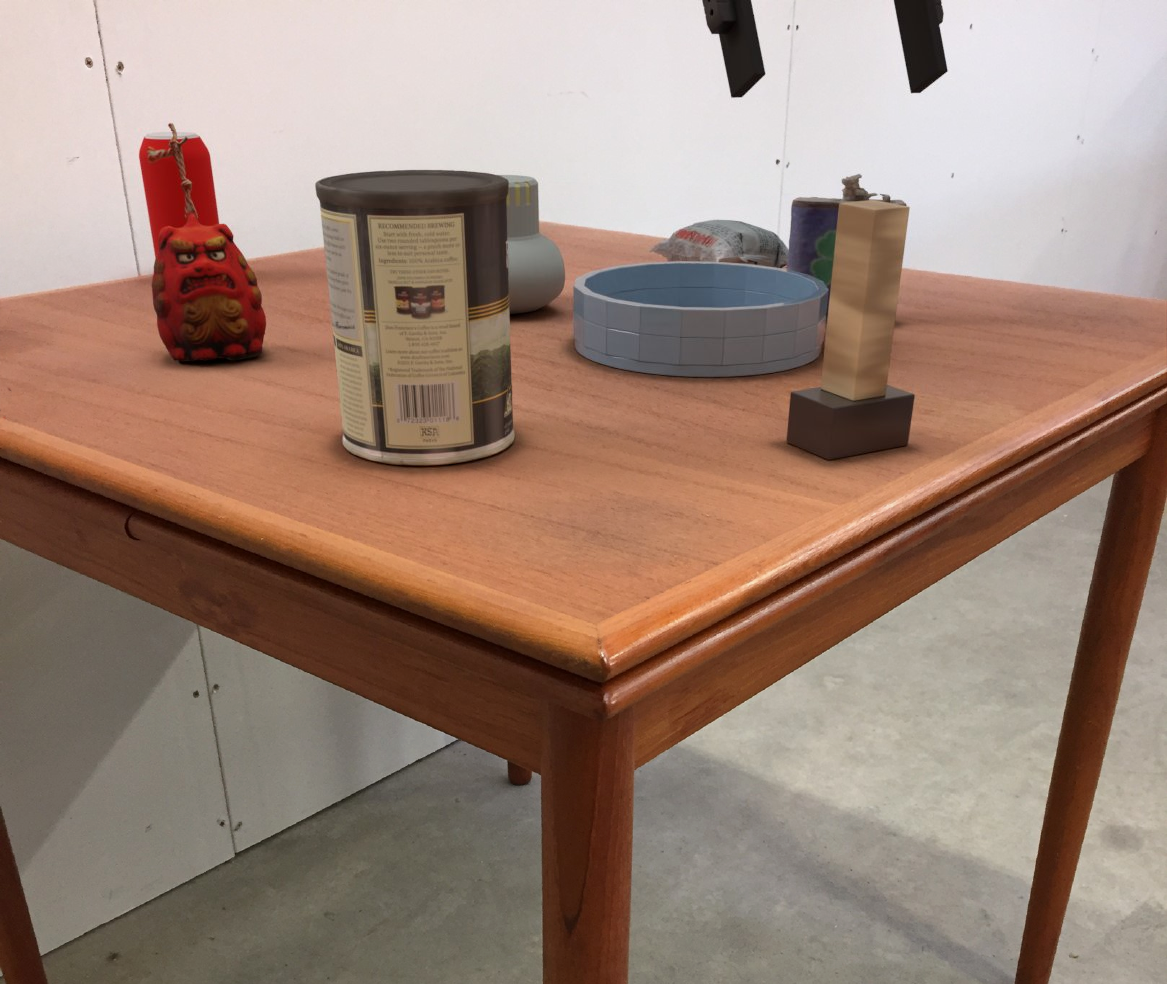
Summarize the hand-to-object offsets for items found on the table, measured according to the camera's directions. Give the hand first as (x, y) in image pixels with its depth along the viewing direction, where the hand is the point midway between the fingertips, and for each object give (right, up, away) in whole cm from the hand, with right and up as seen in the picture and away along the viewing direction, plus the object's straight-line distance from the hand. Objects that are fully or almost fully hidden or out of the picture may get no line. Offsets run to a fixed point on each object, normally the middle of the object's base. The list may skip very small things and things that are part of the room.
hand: (841, 85), depth 77 cm
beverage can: (-53, +4, +41) cm, 67 cm away
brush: (0, -23, -3) cm, 23 cm away
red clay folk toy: (-43, -12, +15) cm, 47 cm away
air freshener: (-22, -3, +30) cm, 37 cm away
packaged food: (-3, +4, +42) cm, 42 cm away
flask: (+5, -5, +27) cm, 28 cm away
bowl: (-7, -10, +18) cm, 22 cm away
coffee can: (-25, -23, -2) cm, 34 cm away
